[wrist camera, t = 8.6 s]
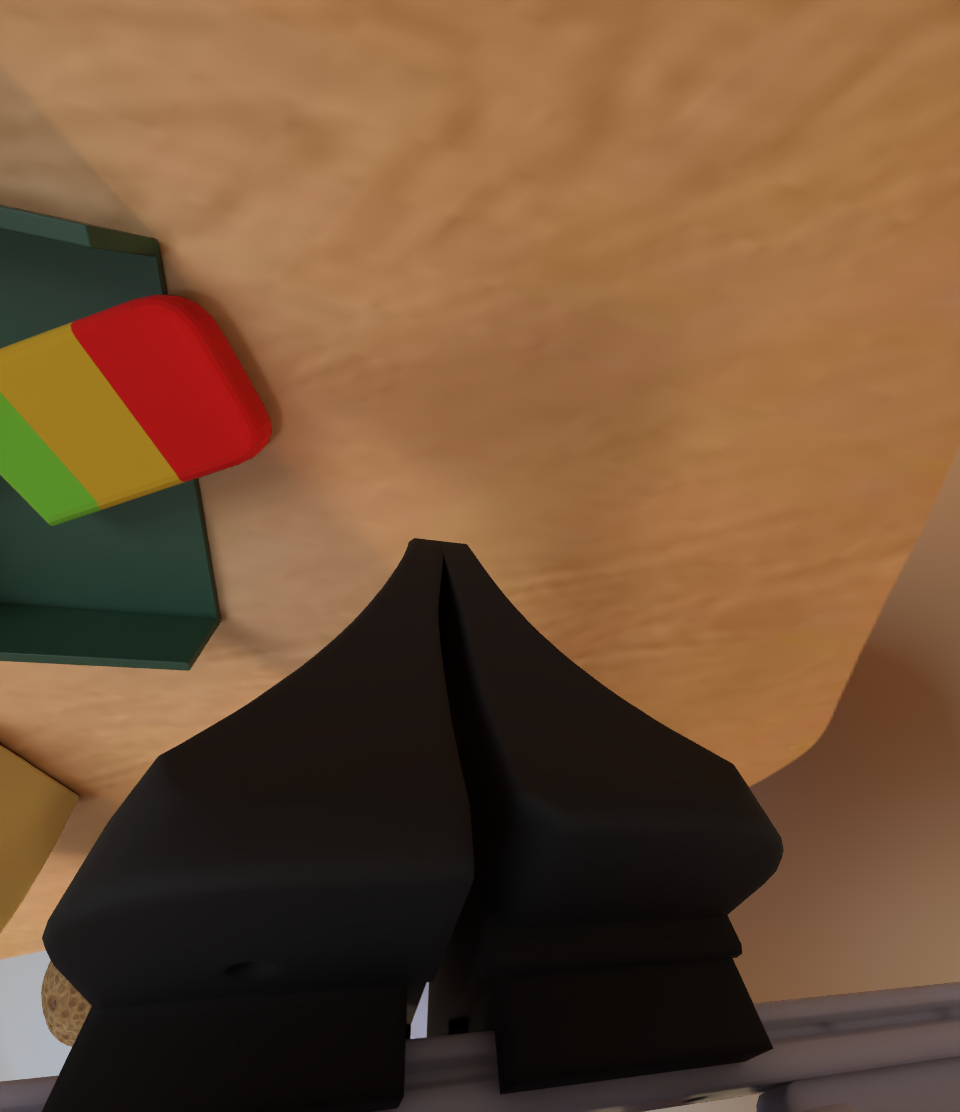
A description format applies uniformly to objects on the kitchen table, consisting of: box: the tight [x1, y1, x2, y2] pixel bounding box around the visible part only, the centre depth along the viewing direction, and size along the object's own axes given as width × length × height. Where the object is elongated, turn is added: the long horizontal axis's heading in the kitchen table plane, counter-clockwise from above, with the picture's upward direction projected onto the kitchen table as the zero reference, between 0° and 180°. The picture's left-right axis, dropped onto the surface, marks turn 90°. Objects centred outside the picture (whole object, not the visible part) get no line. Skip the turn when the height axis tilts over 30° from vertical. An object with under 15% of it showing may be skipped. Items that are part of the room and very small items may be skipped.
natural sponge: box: [41, 961, 92, 1046], centre depth 28 cm, size 9×9×10 cm
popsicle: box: [0, 295, 272, 526], centre depth 15 cm, size 6×15×2 cm, turn 106°
